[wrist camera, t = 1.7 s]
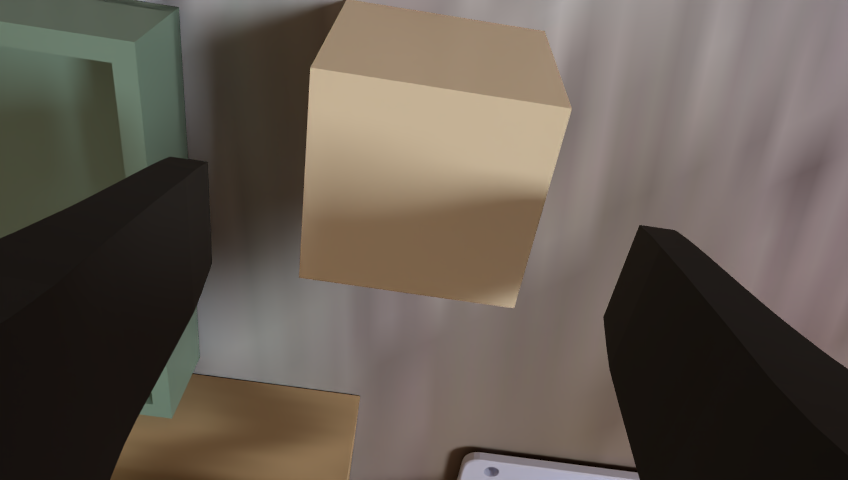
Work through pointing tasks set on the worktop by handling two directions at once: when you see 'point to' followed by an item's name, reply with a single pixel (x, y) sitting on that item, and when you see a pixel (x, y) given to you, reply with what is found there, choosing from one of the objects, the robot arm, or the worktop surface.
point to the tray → (90, 119)
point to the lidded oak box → (244, 435)
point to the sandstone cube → (428, 153)
